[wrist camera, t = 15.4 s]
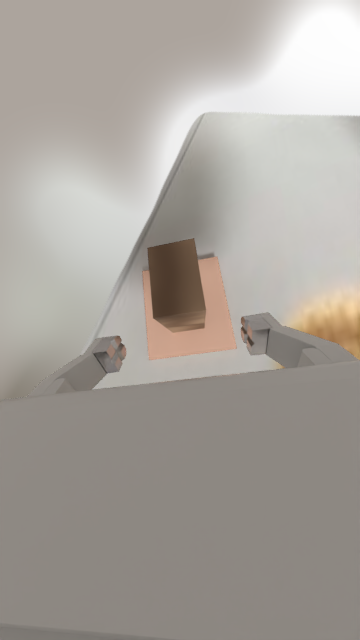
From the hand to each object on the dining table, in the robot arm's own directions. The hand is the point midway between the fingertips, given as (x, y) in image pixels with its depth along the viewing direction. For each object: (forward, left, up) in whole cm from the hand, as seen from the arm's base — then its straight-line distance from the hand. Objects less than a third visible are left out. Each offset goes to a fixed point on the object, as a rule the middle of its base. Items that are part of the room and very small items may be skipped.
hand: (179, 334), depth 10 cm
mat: (0, -6, -12) cm, 13 cm away
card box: (0, -5, -11) cm, 12 cm away
